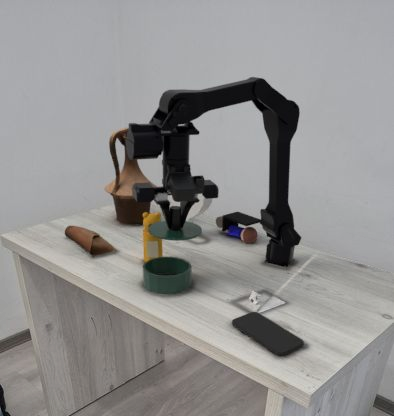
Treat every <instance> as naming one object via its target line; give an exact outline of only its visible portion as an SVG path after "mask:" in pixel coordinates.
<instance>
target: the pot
mask: <svg viewBox="0 0 394 416" xmlns="http://www.w3.org/2000/svg"><path fill="white" fill-rule="evenodd" d="M192 271H193V265H192V263H190V261H188V260H187V259H186V258H185V259H184V258H181V257H177V256H163V257H157V258H153V259H150V260H148V261H147V262H145V261H144V263H143V265H142V279H143V280H142V281H143V282H142V283H143V286H144V288H145V289H146V290H148V291H150V292H151V293H155V294H158V295H176V294H181V293H182V292H184V291H187V290H188V289H189V288H190V287H191V285H192V278H193V277H192V276H193V275H192V273H193V272H192ZM165 274H171V275H165Z"/></svg>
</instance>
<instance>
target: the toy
mask: <svg viewBox="0 0 394 416" xmlns="http://www.w3.org/2000/svg"><path fill="white" fill-rule="evenodd" d="M161 215H162V214H161V213H160V212H159V211H158V212H155V213H150V214H148V213H147V212H145V213H143V218H144V220H143V224H142V225H143V228H144V229H142V246H143V261H144V263H145V262H147V261H148V260H150V259H153V258H157V257H164V256H163V255H164V254H163V239H160V238H156V237H154V236H152V235H151V234H150V233H149V231H148V228H149V226H150V225H152V224H154V223H156V222H160V221H162V220H161V217H162V216H161Z"/></svg>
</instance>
